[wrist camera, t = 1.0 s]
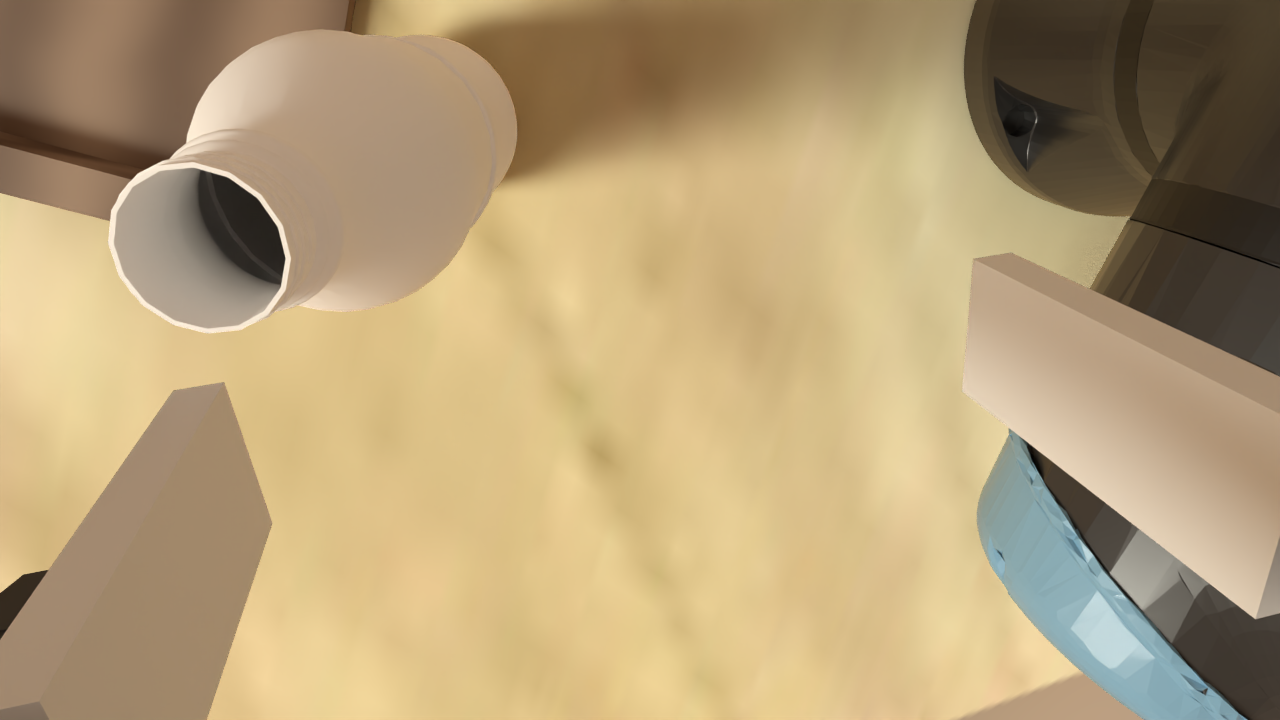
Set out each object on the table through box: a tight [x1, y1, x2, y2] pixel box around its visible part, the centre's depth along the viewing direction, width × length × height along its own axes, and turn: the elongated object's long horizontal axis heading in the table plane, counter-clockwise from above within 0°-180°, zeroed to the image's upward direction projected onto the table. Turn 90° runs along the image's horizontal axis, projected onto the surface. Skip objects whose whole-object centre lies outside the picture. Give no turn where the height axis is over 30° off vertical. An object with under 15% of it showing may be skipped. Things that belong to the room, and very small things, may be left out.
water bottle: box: [108, 29, 517, 333], centre depth 25 cm, size 7×7×25 cm
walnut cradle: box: [0, 0, 356, 221], centre depth 33 cm, size 24×15×3 cm, turn 73°
